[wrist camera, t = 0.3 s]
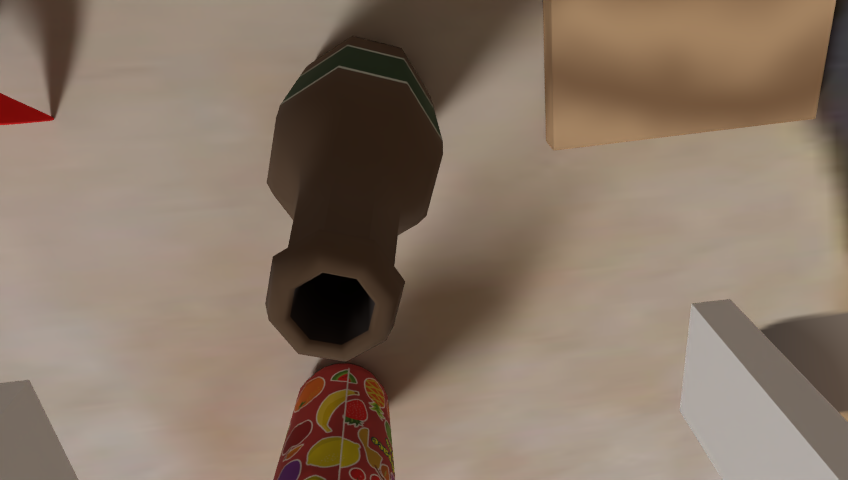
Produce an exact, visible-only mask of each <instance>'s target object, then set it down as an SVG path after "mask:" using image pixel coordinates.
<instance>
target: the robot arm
mask: <svg viewBox="0 0 848 480" xmlns="http://www.w3.org/2000/svg"><path fill="white" fill-rule="evenodd" d="M680 412H681V414H682V415H683V417H684V419H685V420H686V422H687V423H688V425H689V427H690V428H691V430H692V431H693V433H694V435H695V436H696V438H697V439H698V441H699V443H700V444H701V446H702V448H703V449H704V451H705V452H706V454H707V456H708V457H709V459H710V460H711V462H712V464H713V465H714V467H715V468H716V470H717V472H718V473H719V475H720V477H721V478H722V480H848V422H847V421H846V420H845V419H844V418H843V417H842V416H841V415H840V413H839V412H838V411H837V410H836V409H835V408H834V407H833V406H832V405H831V404H830V403H829V402H828V401H827V400H826V399H825V398H824V397H823V396H822V395H821V394H820V393H819V392H818V391H817V389H815V387H814V386H813V385H812V384H811V383H810V382H809V381H808V380H807V379H806V378H805V377H804V376H803V375H802V374H801V373H800V372H799V371H798V370H797V369H796V368H795V366H794V365H793V364H792V363H791V362H790V361H789V360H788V359H787V358H786V357H785V356H784V355H783V354H782V353H781V352H780V351H779V350H778V349H777V348H776V347H775V346H774V345H773V344H772V342H771V341H770V340H769V339H768V338H767V337H766V336H765V335H764V334H763V333H762V332H761V331H760V330H759V329H758V328H757V327H756V326H755V325H754V324H753V323H752V322H751V321H750V319H749V318H748V317H747V316H746V315H745V314H744V313H743V312H742V311H741V310H740V309H739V308H738V307H737V306H736V305H735V304H734V303H733V302H732V301H731V300H730V299H727V300H719V301H710V302H701V303H693V304H691V313H690V322H689V331H688V340H687V349H686V358H685V367H684V377H683V386H682V395H681V404H680ZM0 480H78V478H77V476H76V474H75V472H74V470H73V468H72V466H71V464H70V462H69V460H68V458H67V456H66V454H65V452H64V450H63V448H62V446H61V444H60V442H59V440H58V437H57V435H56V433H55V431H54V429H53V427H52V425H51V423H50V421H49V419H48V417H47V415H46V413H45V411H44V409H43V407H42V405H41V403H40V401H39V399H38V397H37V395H36V393H35V391H34V389H33V387H32V385H31V383H30V381H29V380H24V381H15V382H7V383H0Z"/></svg>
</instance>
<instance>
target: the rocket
mask: <svg viewBox="0 0 848 480" xmlns="http://www.w3.org/2000/svg"><path fill="white" fill-rule="evenodd" d="M51 120H54V118H53V117H51V116H49V115H47V114H45V113H43V112H41V111H38V110H36V109H34V108H32V107H29V106H27V105H25V104H23V103H21V102H18V101H16V100H14V99H12V98H10V97H8V96H5V95H3V94H1V93H0V125H9V124H22V123H33V122H43V121H51Z"/></svg>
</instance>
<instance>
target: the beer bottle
mask: <svg viewBox="0 0 848 480" xmlns="http://www.w3.org/2000/svg"><path fill="white" fill-rule="evenodd" d="M442 156H443V141H442V137H441V133H440V130H439V126H438V122H437V119H436V115H435V111H434V108H433V104H432V100H431V97H430V95H429V93H428V92H427V90H426V88H425V86H424V85H423V83H422V81H421V80H420V78H419V77H418V75H417V73H416V72H415V70H414V68H413V67H412V65H411V63H410V62H409V60H408V58H407V57H406V55H405V53H404V52H403V50H402V48H399V47H394V46H390V45H386V44H382V43H378V42H374V41H370V40H366V39H362V38H358V37H354V36H352V37H350V38H349V39H347V40H346V41H344V42H343V43H341V44H340V45H338V46H337V47H335V48H334V49H332V50H331V51H329V52H327V53H326V54H324V55H323V56H321V57H320V58H318V59H317V60H315V61H314V62H312V63H311V64H310V65H308V66H307V67H306V68H305V70H304V71H303V73H302V74H301V76H300V77H299V78H298V80H297V81H296V83H295V84H294V86H293V87H292V89H291V90H290V92H289V93H288V95H287V96H286V97H285V99H284V100H283V102H282V103H281V105H280V108H279V111H278V114H277V117H276V123H275V130H274V137H273V144H272V150H271V157H270V164H269V171H268V178H267V184H268V186H269V188H270V190H271V191H272V193H273V195H274V196H275V197H276V199H277V200H278V201H279V202H280V204H281V205H282V206H283V208H284V209H285V210H286V211H287V213H288V214H289V215H290V217H291V218H292V219H293V225H292V230H291V235H290V240H289V245H288V248H287V249H285V250H283V251H282V252H280V253H278V254H277V255H275V256H273V259H272V266H271V272H270V278H269V285H268V291H267V297H266V309H267V314H268V319H269V321H270V322H271V323H272V324H273V325H274V327H275V328H276V329H277V330H278V331H279V332H280V333H281V335H282V336H283V337H284V338H285V339H286V340H287V341H288V343H289V344H290V345H291V346H292V347H293V348H294V349H295V351H296V352H297V353H298V354H302V355H308V356H314V357H320V358H326V359H332V360H338V361H344V362H346V361H348V360H350V359H352V358H354V357H356V356H358V355H359V354H361V353H363V352H365V351H367V350H369V349H371V348H372V347H374V346H376V345H378V344H380V343H382V342H384V341H385V340H386V339H387V337H388V335H389V334H390V332H391V330H392V328H393V326H394V322H395V318H396V314H397V311H398V307H399V303H400V299H401V296H402V292H403V288H404V284H405V281H404V279H403V278H402V276H401V275H400V274H399V272H398V271H397V270H396V268H395V267H394V263H395V254H396V245H397V236H398V235H399V234H401V233H403V232H404V231H406V230H408V229H410V228H411V227H413V226H415V225H417V224H418V223H419V222H420V221H421V220H422V219H423V218H425V217H426V215H427V211H428V208H429V204H430V200H431V196H432V193H433V189H434V185H435V182H436V178H437V174H438V170H439V167H440V163H441V159H442Z"/></svg>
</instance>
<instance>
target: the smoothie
mask: <svg viewBox="0 0 848 480" xmlns="http://www.w3.org/2000/svg"><path fill="white" fill-rule="evenodd" d="M273 480H395V472H394V461H393V450H392V438H391V427H390V416H389V404H388V397H387V394H386V392H385V390H384V387H383V386H382V385H381V384H380V383H379V382H378V380H377V379H376V378H375V377H374V376H373V374H372V373H371V372H370V371H368V370H366V369H364V368H362V367H361V366H357V365H353V364H349V363H343V364H333V365H330V366H326V367H324V368H322V369H321V370H319V371H318V372H316V373H315V374H314V376H312V377H311V378H309V379H308V380H307V381H306V382H305V384H304V385H303V386H302V387H301V389H300V391H299V394H298V398H297V401H296V405H295V408H294V411H293V415H292V418H291V422H290V425H289V428H288V432H287V435H286V439H285V442H284V445H283V449H282V452H281V456H280V459H279V462H278V466H277V469H276V472H275V476H274V479H273Z"/></svg>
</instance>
